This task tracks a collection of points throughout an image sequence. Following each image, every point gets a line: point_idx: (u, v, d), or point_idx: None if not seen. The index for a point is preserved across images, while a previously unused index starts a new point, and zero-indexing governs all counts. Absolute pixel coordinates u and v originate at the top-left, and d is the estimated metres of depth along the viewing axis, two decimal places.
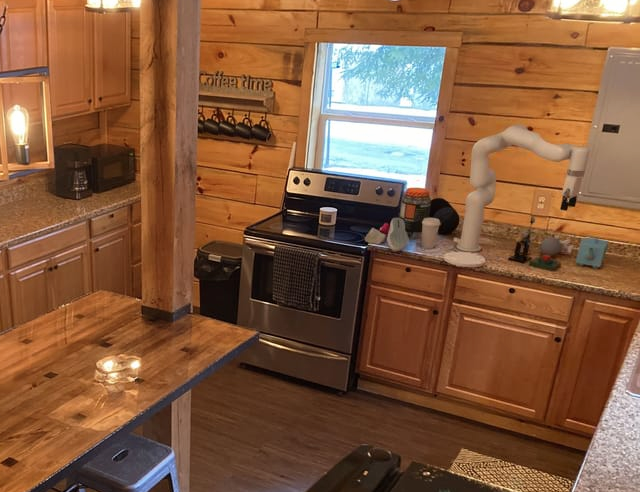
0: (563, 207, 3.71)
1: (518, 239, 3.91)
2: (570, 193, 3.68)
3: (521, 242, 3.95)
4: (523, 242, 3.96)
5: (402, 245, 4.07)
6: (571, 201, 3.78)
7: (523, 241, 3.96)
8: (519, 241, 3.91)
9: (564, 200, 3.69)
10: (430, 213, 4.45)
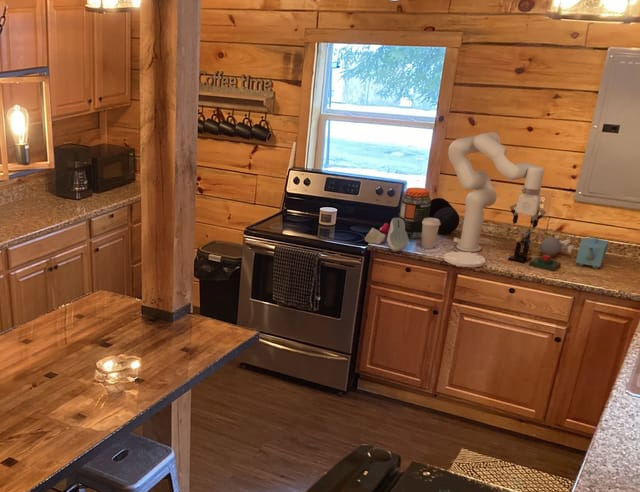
0: (536, 224, 3.84)
1: (518, 239, 3.91)
2: None
3: (521, 242, 3.95)
4: (523, 242, 3.96)
5: (402, 245, 4.07)
6: (516, 218, 3.90)
7: (523, 241, 3.96)
8: (519, 241, 3.91)
9: None
10: (430, 213, 4.45)
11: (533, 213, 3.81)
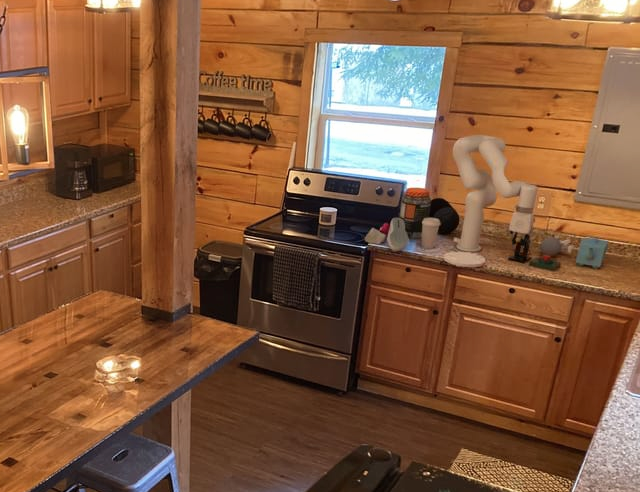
0: (523, 243, 3.91)
1: (518, 239, 3.91)
2: (532, 228, 3.87)
3: None
4: None
5: (402, 245, 4.07)
6: None
7: None
8: (519, 241, 3.91)
9: None
10: (430, 213, 4.45)
11: (526, 231, 3.85)
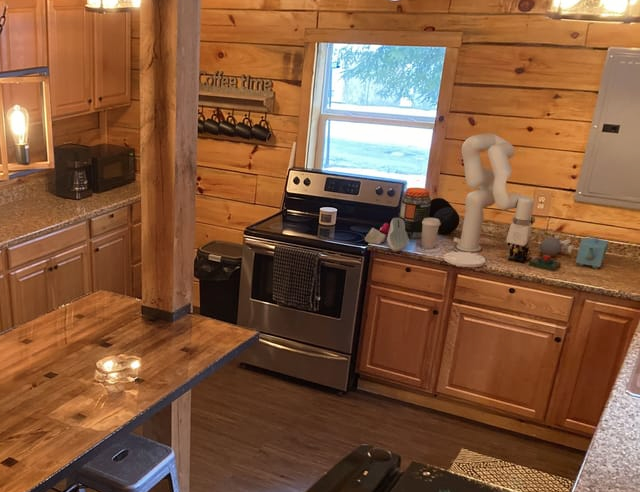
0: (521, 255, 3.93)
1: (515, 252, 3.93)
2: (529, 240, 3.89)
3: None
4: None
5: (402, 245, 4.07)
6: (512, 251, 3.95)
7: None
8: None
9: (524, 248, 3.91)
10: (430, 213, 4.45)
11: (523, 243, 3.88)
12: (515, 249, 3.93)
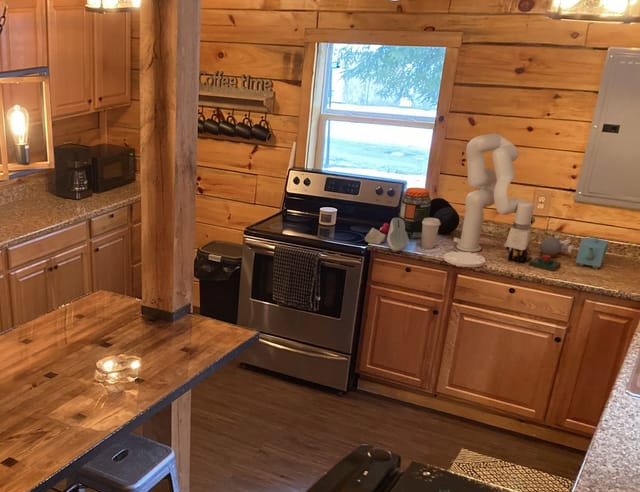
0: (521, 259, 3.94)
1: (515, 255, 3.95)
2: None
3: None
4: None
5: (402, 245, 4.07)
6: (511, 255, 3.97)
7: None
8: None
9: None
10: (430, 213, 4.45)
11: (523, 247, 3.89)
12: (515, 253, 3.94)
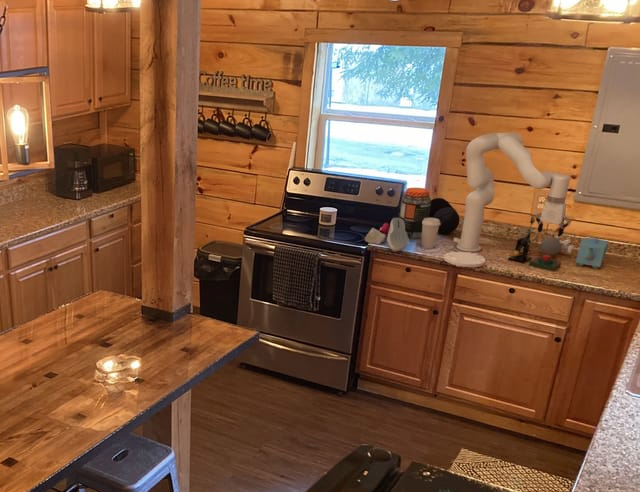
0: (562, 233, 3.81)
1: (515, 255, 3.95)
2: None
3: (520, 248, 3.97)
4: (522, 245, 3.97)
5: (402, 245, 4.07)
6: (541, 227, 3.87)
7: (522, 245, 3.97)
8: None
9: (566, 226, 3.79)
10: (430, 213, 4.45)
11: (558, 222, 3.78)
12: (515, 253, 3.94)
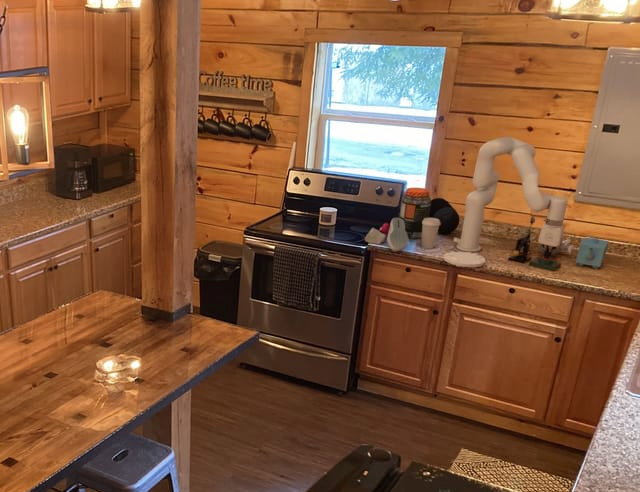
0: (550, 255, 3.89)
1: (515, 255, 3.95)
2: None
3: (520, 248, 3.97)
4: (522, 245, 3.97)
5: (402, 245, 4.07)
6: None
7: (522, 245, 3.97)
8: None
9: None
10: (430, 213, 4.45)
11: (556, 244, 3.83)
12: (515, 253, 3.94)
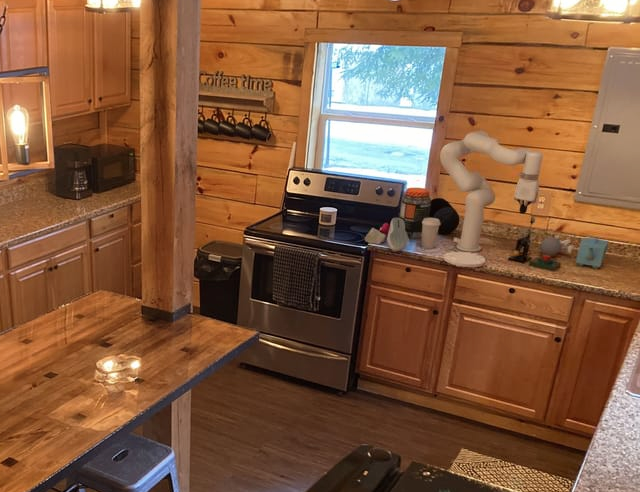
0: (526, 210, 3.88)
1: (515, 255, 3.95)
2: (537, 195, 3.83)
3: (520, 248, 3.97)
4: (522, 245, 3.97)
5: (402, 245, 4.07)
6: None
7: (522, 245, 3.97)
8: None
9: None
10: (430, 213, 4.45)
11: (531, 198, 3.82)
12: (515, 253, 3.94)
